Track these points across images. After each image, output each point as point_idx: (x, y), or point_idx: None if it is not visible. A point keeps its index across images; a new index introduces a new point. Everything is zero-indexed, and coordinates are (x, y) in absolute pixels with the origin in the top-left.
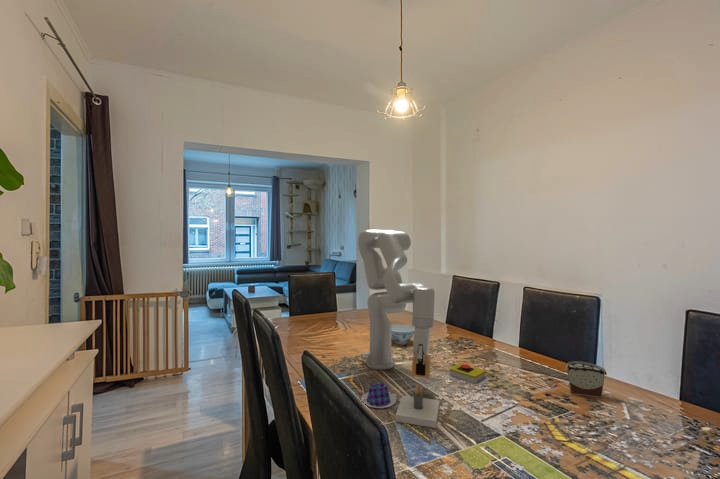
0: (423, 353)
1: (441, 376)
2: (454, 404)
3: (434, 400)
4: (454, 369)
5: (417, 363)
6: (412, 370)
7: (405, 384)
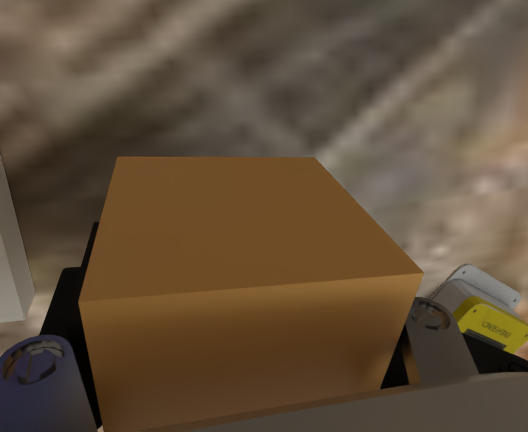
0: (407, 377)
1: (437, 246)
2: None
3: (4, 296)
4: (462, 324)
5: (5, 370)
6: (111, 191)
7: (307, 29)
